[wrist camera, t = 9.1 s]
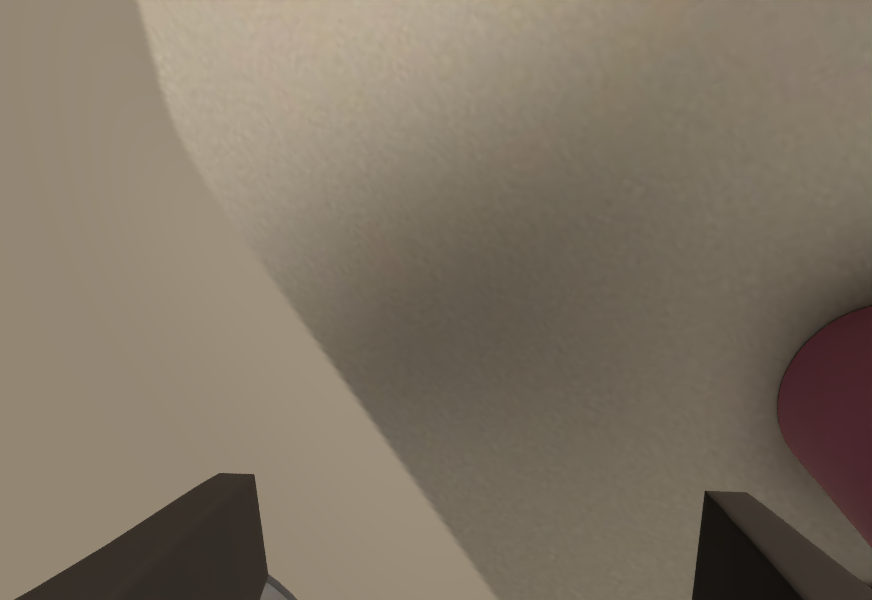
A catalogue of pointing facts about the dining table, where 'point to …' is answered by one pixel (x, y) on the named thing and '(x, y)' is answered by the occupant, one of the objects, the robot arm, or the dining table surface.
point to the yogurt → (834, 414)
